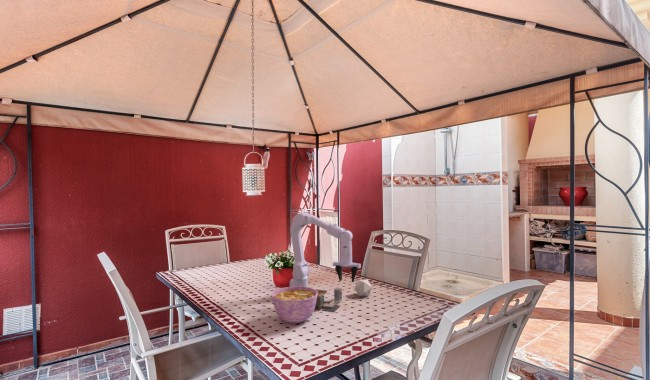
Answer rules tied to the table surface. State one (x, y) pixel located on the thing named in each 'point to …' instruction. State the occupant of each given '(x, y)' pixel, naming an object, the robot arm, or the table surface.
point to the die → (363, 288)
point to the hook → (336, 299)
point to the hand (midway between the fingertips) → (346, 281)
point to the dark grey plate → (332, 308)
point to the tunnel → (320, 294)
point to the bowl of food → (294, 303)
